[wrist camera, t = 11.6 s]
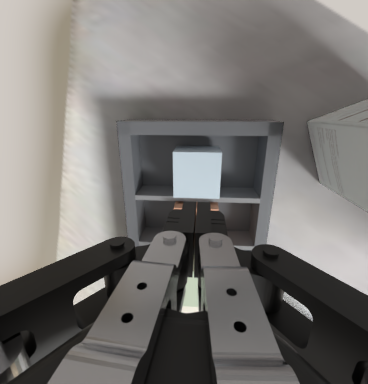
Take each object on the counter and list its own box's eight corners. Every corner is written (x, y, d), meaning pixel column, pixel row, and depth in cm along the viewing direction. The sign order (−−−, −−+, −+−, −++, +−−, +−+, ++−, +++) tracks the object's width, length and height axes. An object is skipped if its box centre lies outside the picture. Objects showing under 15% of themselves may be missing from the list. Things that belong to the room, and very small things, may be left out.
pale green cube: (215, 250, 25) (217, 272, 22) (213, 282, 26) (215, 308, 23) (175, 248, 25) (171, 270, 22) (176, 280, 27) (172, 305, 23)
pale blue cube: (219, 146, 23) (222, 152, 20) (217, 186, 25) (219, 198, 22) (176, 145, 24) (172, 151, 20) (177, 185, 25) (173, 197, 22)
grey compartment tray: (272, 120, 23) (283, 122, 20) (247, 312, 32) (252, 336, 29) (128, 119, 24) (116, 121, 21) (143, 306, 33) (136, 328, 30)
